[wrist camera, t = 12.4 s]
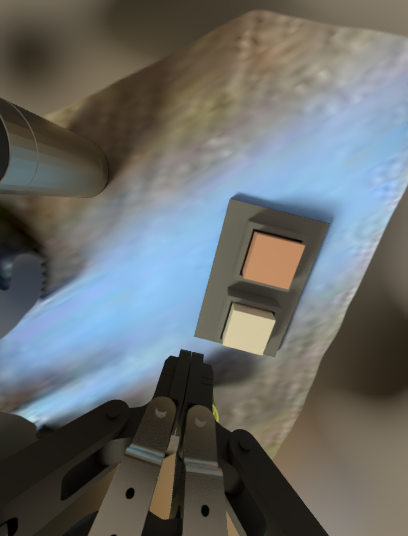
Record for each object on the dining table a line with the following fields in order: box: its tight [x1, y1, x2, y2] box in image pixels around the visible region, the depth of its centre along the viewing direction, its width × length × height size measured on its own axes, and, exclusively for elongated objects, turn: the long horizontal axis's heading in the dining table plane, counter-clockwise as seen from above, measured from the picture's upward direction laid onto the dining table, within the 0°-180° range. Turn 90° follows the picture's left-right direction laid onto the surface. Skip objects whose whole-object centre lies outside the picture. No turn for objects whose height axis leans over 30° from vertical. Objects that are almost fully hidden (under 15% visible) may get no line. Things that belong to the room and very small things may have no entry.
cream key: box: [223, 302, 276, 355], centre depth 35 cm, size 7×7×3 cm
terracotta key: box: [242, 231, 305, 289], centre depth 31 cm, size 7×7×3 cm
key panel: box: [194, 199, 330, 357], centre depth 36 cm, size 16×26×5 cm, turn 167°
